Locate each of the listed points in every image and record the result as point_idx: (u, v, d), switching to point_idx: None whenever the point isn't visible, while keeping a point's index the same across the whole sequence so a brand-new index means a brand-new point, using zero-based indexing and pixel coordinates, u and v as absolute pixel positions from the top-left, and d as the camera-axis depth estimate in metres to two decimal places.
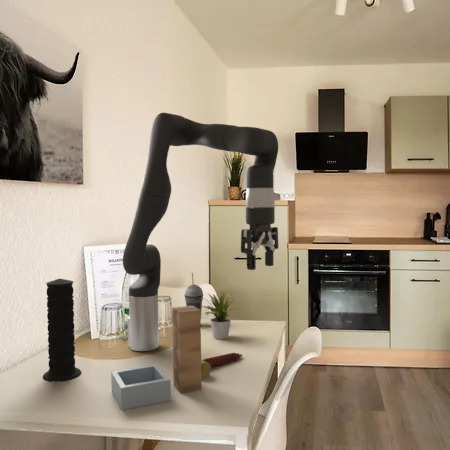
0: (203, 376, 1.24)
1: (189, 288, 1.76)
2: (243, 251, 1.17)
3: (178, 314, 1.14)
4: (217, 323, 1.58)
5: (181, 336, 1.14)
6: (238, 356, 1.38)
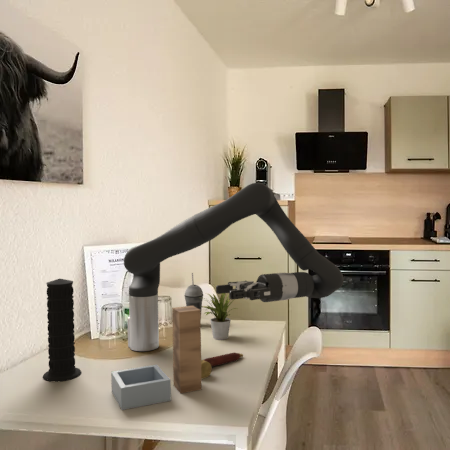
0: (204, 376, 1.24)
1: (189, 288, 1.76)
2: (252, 293, 1.16)
3: (178, 314, 1.14)
4: (217, 323, 1.58)
5: (181, 336, 1.14)
6: (239, 356, 1.38)
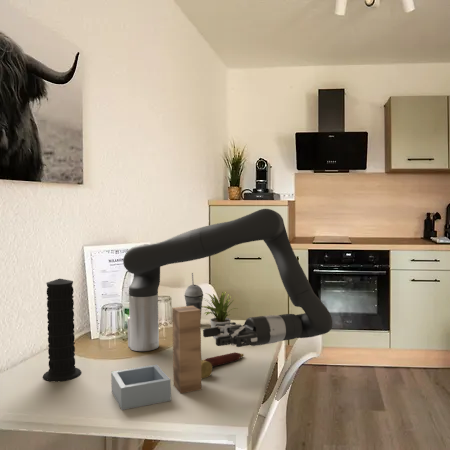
0: (205, 376, 1.24)
1: (189, 288, 1.76)
2: (238, 340, 1.16)
3: (178, 314, 1.14)
4: (217, 323, 1.58)
5: (181, 336, 1.14)
6: (239, 356, 1.38)
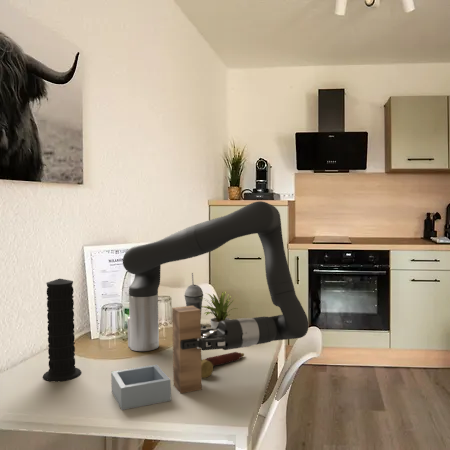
0: (205, 375, 1.24)
1: (189, 288, 1.76)
2: (203, 343, 1.13)
3: (178, 314, 1.14)
4: (217, 323, 1.58)
5: (181, 336, 1.14)
6: (240, 355, 1.39)
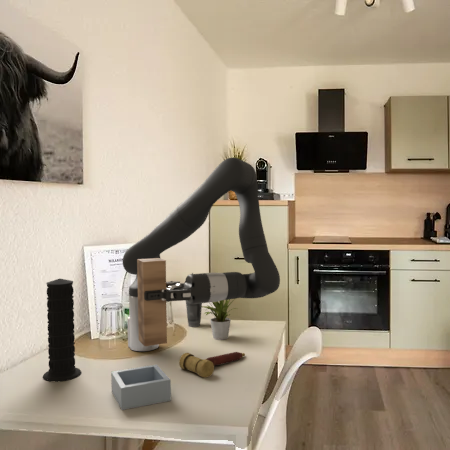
0: (206, 375, 1.25)
1: None
2: (167, 294, 1.09)
3: (142, 264, 1.09)
4: (217, 323, 1.58)
5: (145, 286, 1.09)
6: (241, 355, 1.39)
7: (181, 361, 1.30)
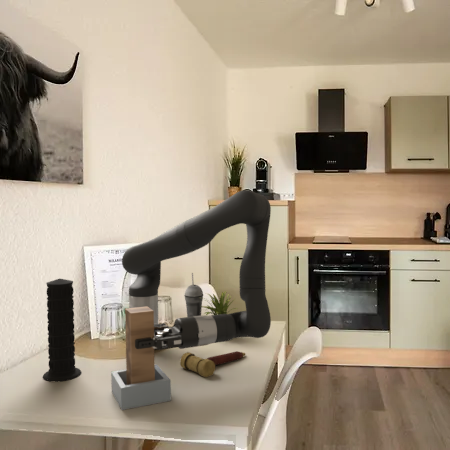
0: (208, 374, 1.25)
1: (189, 288, 1.76)
2: (159, 342, 1.07)
3: (130, 315, 1.09)
4: None
5: (133, 338, 1.09)
6: (241, 355, 1.39)
7: (182, 361, 1.30)
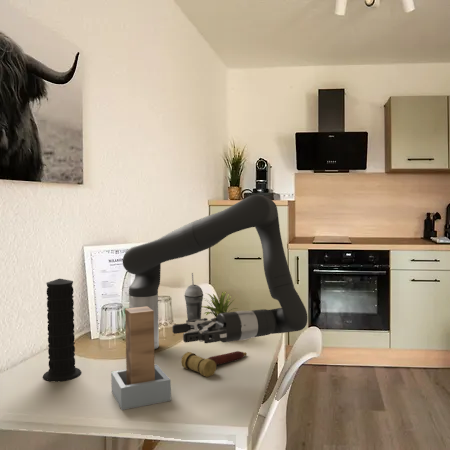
0: (209, 374, 1.25)
1: (189, 288, 1.76)
2: (206, 336, 1.12)
3: (130, 315, 1.09)
4: None
5: (133, 338, 1.09)
6: (242, 354, 1.40)
7: (183, 360, 1.30)
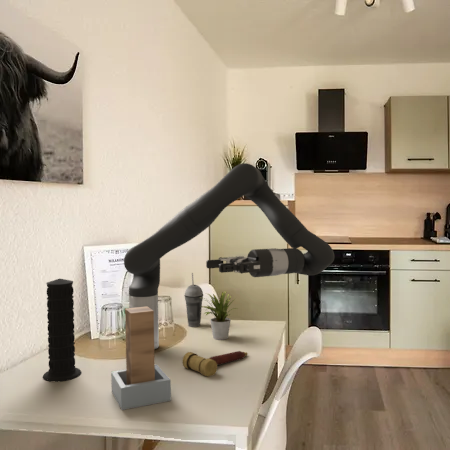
0: (210, 374, 1.25)
1: (189, 288, 1.76)
2: (241, 266, 1.17)
3: (130, 315, 1.09)
4: (217, 323, 1.58)
5: (133, 338, 1.09)
6: (243, 354, 1.40)
7: (184, 360, 1.31)
